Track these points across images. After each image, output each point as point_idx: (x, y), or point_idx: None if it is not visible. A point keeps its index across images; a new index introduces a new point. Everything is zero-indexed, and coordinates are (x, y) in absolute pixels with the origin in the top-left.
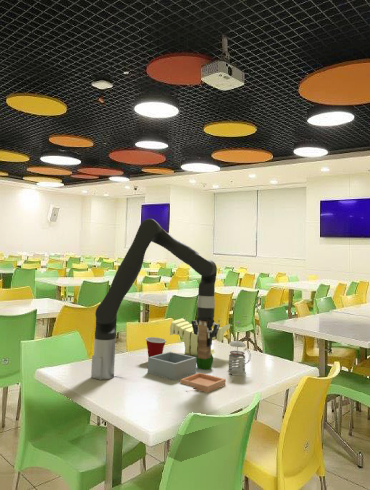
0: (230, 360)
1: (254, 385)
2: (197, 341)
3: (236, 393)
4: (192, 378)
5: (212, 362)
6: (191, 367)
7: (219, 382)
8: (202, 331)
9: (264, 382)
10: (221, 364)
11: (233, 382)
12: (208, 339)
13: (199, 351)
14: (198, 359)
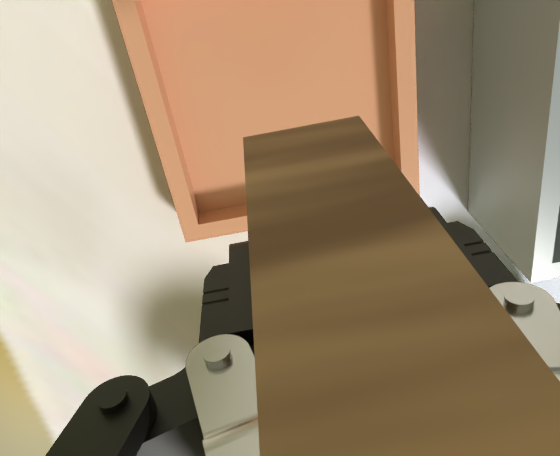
0: None
1: (87, 347)
2: (478, 236)
3: (6, 158)
4: (392, 85)
5: None
6: (500, 187)
7: (162, 163)
8: (402, 387)
9: None
10: None
11: (198, 293)
12: (228, 321)
13: (353, 148)
14: None
